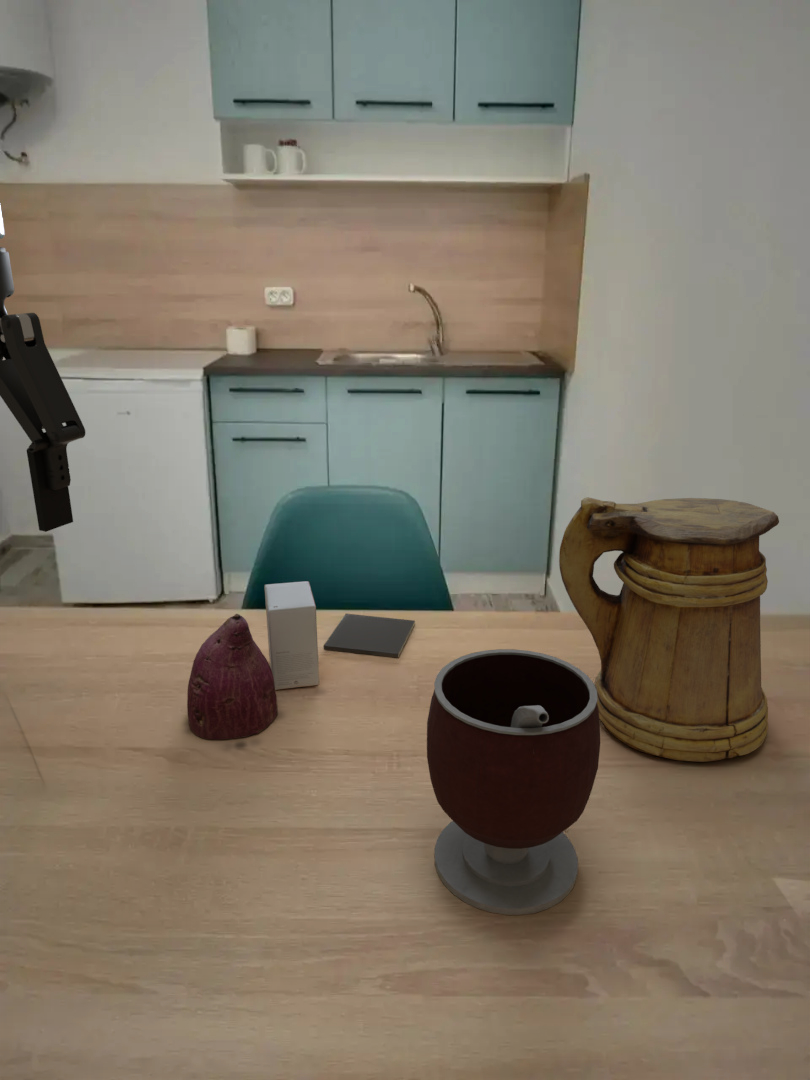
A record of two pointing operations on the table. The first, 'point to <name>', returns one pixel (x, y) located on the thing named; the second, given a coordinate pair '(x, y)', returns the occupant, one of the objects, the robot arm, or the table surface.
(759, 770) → the table surface
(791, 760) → the table surface
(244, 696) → the vegetable
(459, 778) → the mate gourd
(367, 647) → the slate coaster
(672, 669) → the tankard
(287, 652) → the small box
